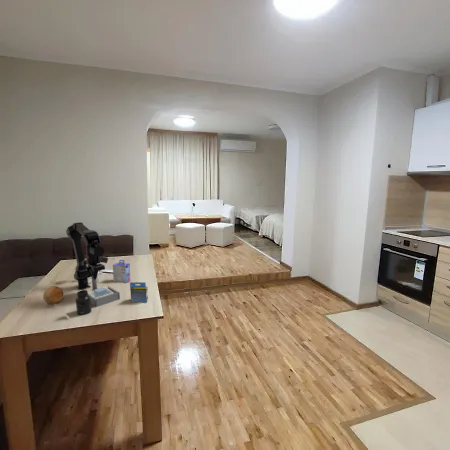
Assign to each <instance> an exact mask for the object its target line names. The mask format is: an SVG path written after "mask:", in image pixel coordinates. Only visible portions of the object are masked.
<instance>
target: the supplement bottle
mask: <svg viewBox="0 0 450 450" xmlns="http://www.w3.org/2000/svg"><path fill="white" fill-rule="evenodd" d="M88 292H89V290H86V289H85V290H84V289H82V290H79V291H78V292H76V296H77V297H76V298H75V307H76V315H78V316H86V315H89V314H91V313H92V308H93V307H92V304H91V298H90V296H89V295H88Z"/></svg>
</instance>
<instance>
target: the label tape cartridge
mask: <svg viewBox="0 0 450 450" xmlns="http://www.w3.org/2000/svg"><path fill="white" fill-rule="evenodd" d="M129 286H130V287H129V288H130V289H129V290H130V302H135V303H136V302H137V303H141V302H142V303H143V304H147V303H148V299H149V290H148V286H147V285H146V282H145V281H144V282H140V281H139V282H137V281H136V282H133V281H132V282H131V281H129Z"/></svg>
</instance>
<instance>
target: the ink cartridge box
mask: <svg viewBox="0 0 450 450" xmlns="http://www.w3.org/2000/svg"><path fill="white" fill-rule="evenodd" d="M130 264H131V263H127V262H126V261H125V259H119V261H118V262H116V263H114V264H112V275H113V276H112V277H113V278H112V279H113V283H116V282H121V283H123V284H127V283H130V282H131V265H130Z"/></svg>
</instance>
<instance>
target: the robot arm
mask: <svg viewBox="0 0 450 450" xmlns="http://www.w3.org/2000/svg"><path fill="white" fill-rule="evenodd" d="M65 232H66V235H67V237H68V238H67V239H69V240H70V241H71V242H72V245H73V250H74V254H75V255H74V256H75V259H76V260H75V261H76V266H75V271H74V274H73V278H74V280H76V281H77V286H76V288H77V289H78V290H79V291H82V290H84V289H85V290H86V289H88V288H91V286H92V285H89V278H92V276H93V278H94V280H95V279H96V280H97V277H98V273H99V272H101V271H104V270H106V266H105V264H107V263H108V260H109V257H106V256H104V254H105V249H104V247H103V246H101V244H102V239H101V237H100V235H99V233H98V232H97V231H96V230H93V229H89V228H88V227H87V226H86V225H85V224H84V223H83V222H81V221H80V222H74V223H72V224H71V225H70V226H68V227H67V228H66V230H65ZM81 239H82V240H83V243H84V245H85V251H86V254H84V250H83V246H82V240H81ZM85 258H86V259H85ZM102 263H105V264H102Z"/></svg>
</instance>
